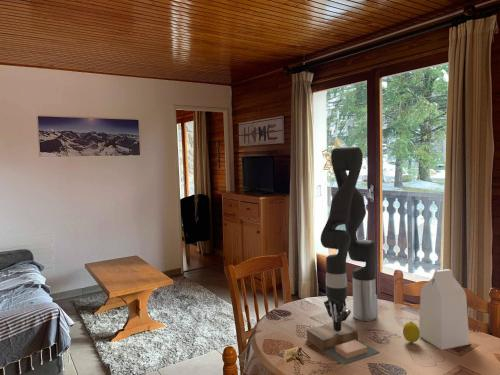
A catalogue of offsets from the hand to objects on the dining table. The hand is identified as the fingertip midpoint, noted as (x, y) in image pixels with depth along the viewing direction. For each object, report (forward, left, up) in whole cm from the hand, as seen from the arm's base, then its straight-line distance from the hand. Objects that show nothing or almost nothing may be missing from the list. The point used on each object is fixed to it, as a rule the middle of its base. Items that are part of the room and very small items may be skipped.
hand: (337, 330), depth 139 cm
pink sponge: (0, +7, -3) cm, 8 cm away
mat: (0, +7, -5) cm, 9 cm away
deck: (0, -3, -5) cm, 6 cm away
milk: (-35, +17, -5) cm, 39 cm away
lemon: (-23, +13, -5) cm, 27 cm away
